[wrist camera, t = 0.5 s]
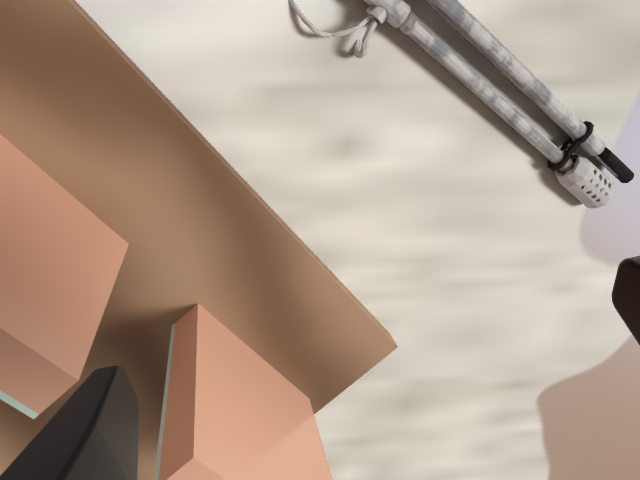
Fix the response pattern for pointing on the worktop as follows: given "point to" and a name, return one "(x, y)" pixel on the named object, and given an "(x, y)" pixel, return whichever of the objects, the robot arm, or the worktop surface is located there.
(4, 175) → the tile
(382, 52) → the worktop surface
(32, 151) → the board
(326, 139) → the worktop surface
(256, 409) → the tile
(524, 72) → the flamethrower
